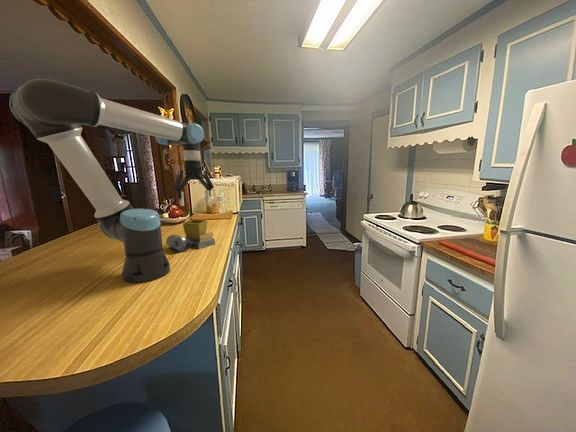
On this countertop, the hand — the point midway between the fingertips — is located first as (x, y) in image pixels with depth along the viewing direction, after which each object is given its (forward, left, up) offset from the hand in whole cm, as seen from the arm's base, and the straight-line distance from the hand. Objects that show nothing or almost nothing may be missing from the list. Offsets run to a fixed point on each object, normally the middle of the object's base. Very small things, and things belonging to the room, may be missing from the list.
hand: (195, 204), depth 116 cm
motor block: (0, +4, -21) cm, 21 cm away
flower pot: (0, +1, -18) cm, 18 cm away
